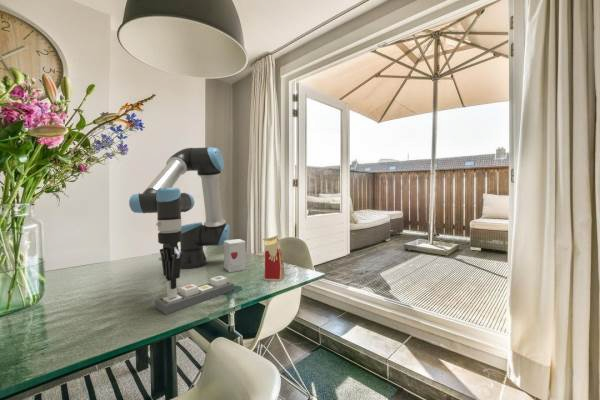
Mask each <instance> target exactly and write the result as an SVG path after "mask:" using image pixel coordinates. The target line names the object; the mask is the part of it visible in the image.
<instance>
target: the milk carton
mask: <svg viewBox="0 0 600 400" xmlns="http://www.w3.org/2000/svg"><path fill="white" fill-rule="evenodd" d="M262 240H263V241H264V271H263V272H264V273H263V280H264V281H268V282H269V281H272V282H273V281H277V282H281V281H282V279H283V278H284V276H285V274H286V273H285V263H284V256H283V252H282V248H281V244H280V239H279V235H275V236H272V237H267V238H262Z"/></svg>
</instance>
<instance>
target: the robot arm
mask: <svg viewBox="0 0 600 400" xmlns="http://www.w3.org/2000/svg"><path fill="white" fill-rule="evenodd" d="M224 164H225V162H224V157H223V154H222V152H221V150H220V149H219V148H217V147H210V146H209V147H186V148H182V149H181V150H179V151H177V152H176V153H173V154H172V155H171V156H170V157H169V158H168V159H167V161H166V163H165V166H164V168H163V169H162V170H161V171H160V172H159V173H158V175H157V176H155V178H154V179H153V180H152V181H151V183H150V184H149V185H148V186H147V187H146V189H145V190H143V192H142V193H140V192H138V193H134V194H132V195H131V196H130V198H129V200H128V205H129V208H130V211H132V213H135V214H136V213H137V214H156V215H157V223H156V224H155V226H157V230H158V233H157V242H158V244H161V245H162V248H160V249H159V253H160V258H161V263H162V264H161V265H162V266H161V267H162V272H163V273H162V274H163V277H165V279H166V290H167V291H166V292H167V293H166V294H167V295H166V296H167V298H169V299H170V298H173V297H176V296H177V293H178V289H177V285H178V284H177V279H179V278H180V277H181V269H185V270H186V269H194V268H195V269H196V268H200V267H203V266H206V265H207V264H208V259H207V257H206V255H205V251H204V247H219V246H224V241H226V240H230V234H231V226H230V225H229V224H227V220H225V219H224V217H223V210H222V199H221V190H220V180H219V176H220V175H221V174H222V171H223V170H224V168H225V165H224ZM191 171H194V172H195V171H196V172H197V175H198V176H199V177H200V178H201V185H202V187H201V188H202V195H203V196H202V197H203V203H204V210H205V211H204V212H205V221H204V223H203V222H193V223H188V224H184V225H182V213H186V212H189V211H190V210H193V207H194V206H195V199H194V197H193V195H191V194H190V193H187V192H181V190H180V188H179V187H173V186H175V184H176V183H177V181H178V180H179V178H180V176H182V175H184V174H185V173H187V172H191ZM178 244H180V245H178ZM179 246H180V252H179Z"/></svg>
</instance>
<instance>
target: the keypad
mask: <svg viewBox="0 0 600 400" xmlns="http://www.w3.org/2000/svg"><path fill="white" fill-rule="evenodd" d="M204 285H209V286H212V285H210V282H208V283H205V284H204V283H203V284H201V285H198V287H201V286H204ZM212 287H213V289H212V290H209V291H206V292H203V293H202V292H200V291H199V294H196V295H193V296H190V297H187V298H186V297H184V296H182V295H180V291H177V295H179V296H181V297H182V300H179V301H176V302H173V303H170V304H167V303H165V302H163V298H165V297H167V295H165V296H161V297H158V298H156V299H154V307H155V308H156V309H157V310H158V311H160V312H162V313H163V314H164V315H168V314H169V315H170V314H171V313H174V312H177V311H180V310H183V309H185V308H188V307H192V306H194V305H197V304H201V303H202V302H205V301H207V300H211V299H213V298H216V297H219V296H222V295H224V293H225V294H227V292H228V293H230V292H233V291H235V284H234V282H231V281H229V280H227V284H226V285H223V286H220V287H217V288H216V287H214V286H212ZM232 290H233V291H232ZM229 291H230V292H229Z"/></svg>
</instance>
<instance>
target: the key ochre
mask: <svg viewBox="0 0 600 400" xmlns="http://www.w3.org/2000/svg"><path fill="white" fill-rule="evenodd" d="M203 285H204V284H203ZM212 289H213V287H212V286H209V285H204V286H201V287H198V290H199V291H200V292H202V293H203V292H206V291H209V290H212Z"/></svg>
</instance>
